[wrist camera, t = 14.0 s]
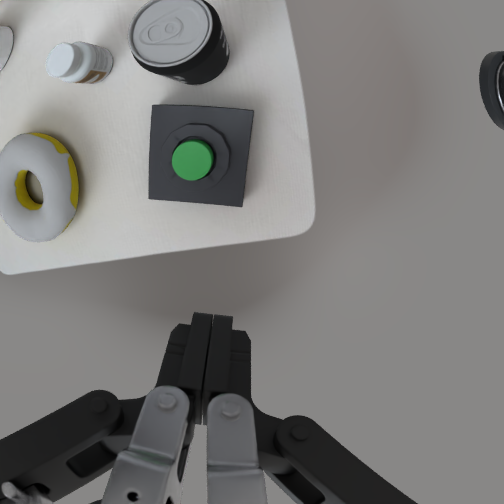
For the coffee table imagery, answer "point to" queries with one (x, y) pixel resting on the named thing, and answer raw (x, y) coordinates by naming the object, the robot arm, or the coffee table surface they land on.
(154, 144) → the button block
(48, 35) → the coffee table surface
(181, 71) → the beverage can
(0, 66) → the cup
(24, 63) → the coffee table surface
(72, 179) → the donut
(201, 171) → the button
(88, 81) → the pill bottle
